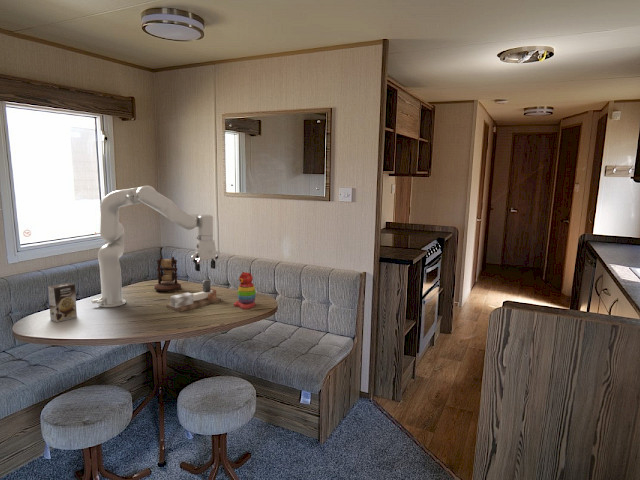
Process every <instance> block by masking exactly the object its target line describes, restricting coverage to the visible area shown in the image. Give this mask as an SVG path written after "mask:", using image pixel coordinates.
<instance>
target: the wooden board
mask: <svg viewBox="0 0 640 480" xmlns="http://www.w3.org/2000/svg"><path fill="white" fill-rule="evenodd" d="M211 290H212V291H213V293H210V294H208V297H207V298H203V299H199V300H195V301H193V293H191V292H188V291H187V292H184V293H180V294H175V295H170V297H169V298H170V303H167V304H165V307H166V308H169V309H170V310H173V311H176V312H178V313H181V312H183V311H184V312H185V311H187V310H192V309H196V308H199V307H204V306H207V305H210V304H215V303H218V302H221V301H222V298H219V297H217V289H214V288H211Z"/></svg>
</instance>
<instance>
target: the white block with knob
mask: <svg viewBox="0 0 640 480" xmlns="http://www.w3.org/2000/svg"><path fill="white" fill-rule="evenodd" d="M211 286H212V285H211V279H203V280H202V291H199V292H194V293H192V294H193V301H195V300H199V299H203V298H207V297H208V294H210V293H213V291H212V290H211V289H212V288H211Z"/></svg>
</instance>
